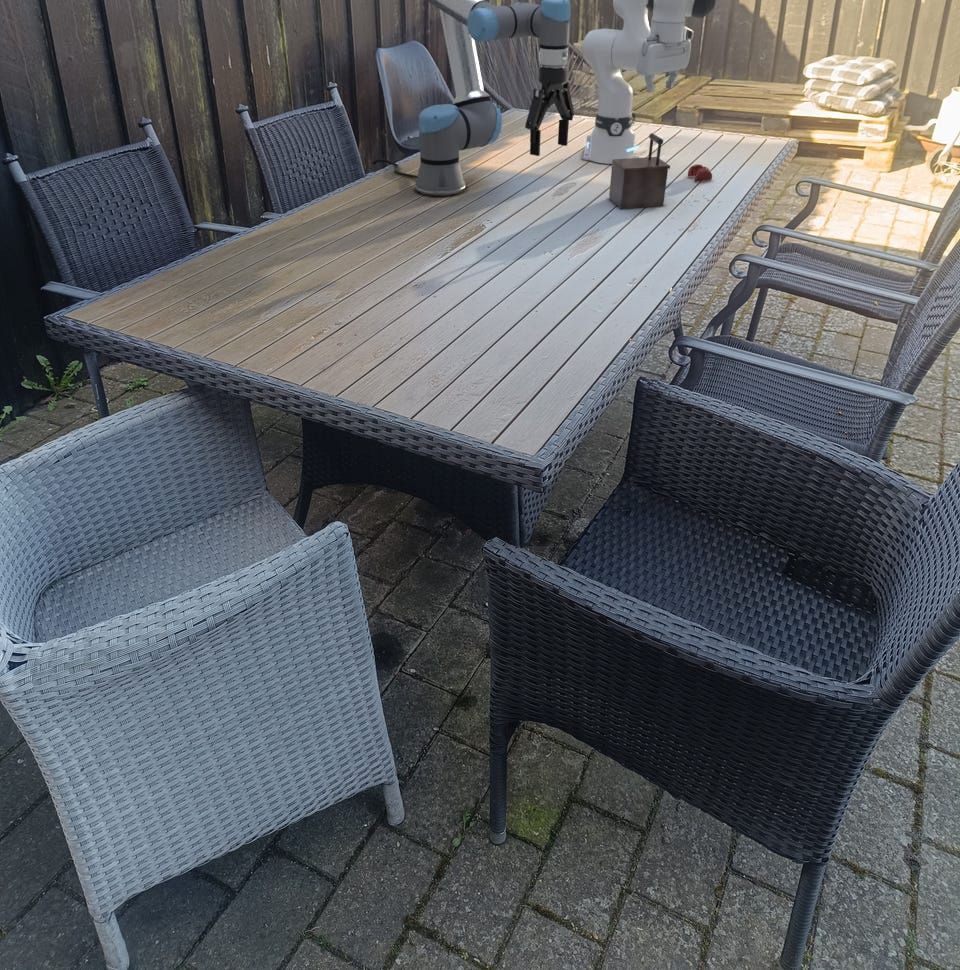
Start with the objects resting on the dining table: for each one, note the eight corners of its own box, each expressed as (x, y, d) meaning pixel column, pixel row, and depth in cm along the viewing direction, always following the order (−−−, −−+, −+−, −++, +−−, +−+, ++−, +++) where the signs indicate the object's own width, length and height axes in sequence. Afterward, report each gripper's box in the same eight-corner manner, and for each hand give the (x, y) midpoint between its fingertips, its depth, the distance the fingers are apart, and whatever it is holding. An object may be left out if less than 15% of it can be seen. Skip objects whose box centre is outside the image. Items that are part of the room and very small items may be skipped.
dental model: (703, 160, 269) (714, 167, 263) (701, 174, 271) (713, 181, 265) (687, 162, 268) (698, 169, 262) (685, 176, 270) (696, 183, 264)
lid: (656, 159, 248) (659, 131, 243) (669, 168, 240) (673, 139, 235) (612, 162, 245) (614, 133, 241) (624, 171, 237) (627, 142, 233)
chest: (650, 195, 254) (654, 159, 247) (663, 206, 246) (668, 169, 239) (608, 198, 251) (612, 162, 245) (620, 209, 243) (624, 171, 237)
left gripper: (537, 74, 211) (534, 161, 224) (590, 60, 227) (584, 143, 240) (513, 70, 215) (511, 157, 228) (567, 57, 231) (562, 138, 244)
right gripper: (654, 38, 217) (647, 96, 225) (697, 31, 229) (689, 87, 237) (634, 35, 221) (628, 93, 228) (677, 29, 233) (670, 84, 240)
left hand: (548, 150), depth 234 cm, fingers open, 13 cm apart
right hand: (659, 90), depth 233 cm, fingers open, 8 cm apart
